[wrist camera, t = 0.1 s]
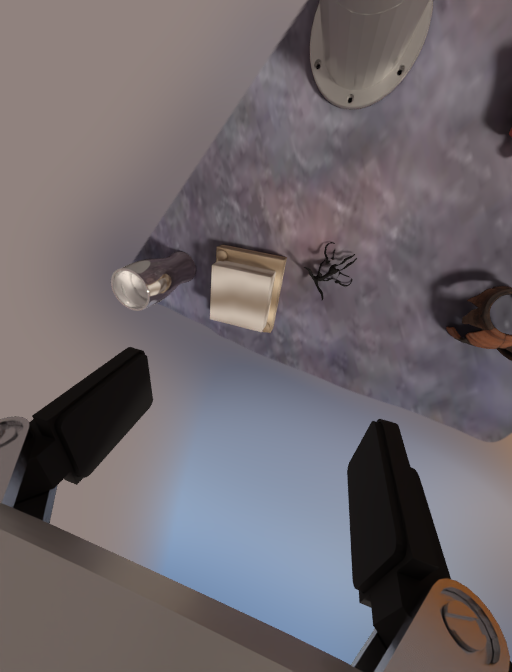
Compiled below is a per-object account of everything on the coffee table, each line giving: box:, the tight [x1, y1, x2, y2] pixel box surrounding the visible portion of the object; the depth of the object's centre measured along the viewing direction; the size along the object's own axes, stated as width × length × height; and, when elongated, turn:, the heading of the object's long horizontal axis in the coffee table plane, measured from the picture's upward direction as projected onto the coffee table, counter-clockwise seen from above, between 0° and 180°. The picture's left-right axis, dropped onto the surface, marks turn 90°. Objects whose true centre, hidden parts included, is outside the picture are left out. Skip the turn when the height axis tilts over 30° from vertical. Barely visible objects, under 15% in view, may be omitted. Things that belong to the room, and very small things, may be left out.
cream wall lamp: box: [210, 245, 287, 333], centre depth 44 cm, size 14×12×7 cm
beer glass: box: [111, 251, 196, 311], centre depth 42 cm, size 7×7×15 cm
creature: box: [304, 242, 357, 300], centre depth 39 cm, size 8×5×8 cm
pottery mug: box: [446, 286, 512, 361], centre depth 36 cm, size 12×10×8 cm
